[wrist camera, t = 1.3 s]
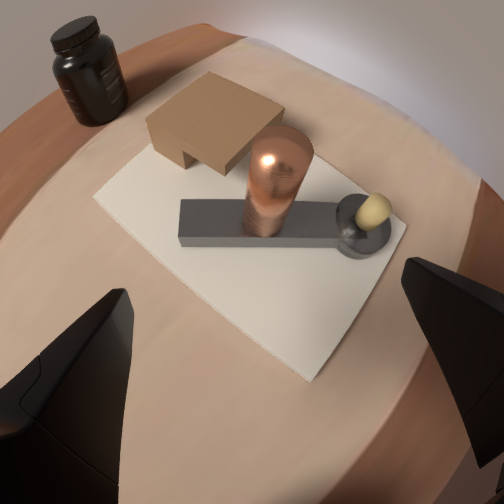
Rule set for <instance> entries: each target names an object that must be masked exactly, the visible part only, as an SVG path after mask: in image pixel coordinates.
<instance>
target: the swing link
mask: <svg viewBox="0 0 504 504" xmlns="http://www.w3.org/2000/svg"><path fill="white" fill-rule="evenodd" d="M313 156H314V149H313V146H312V143H311V142H310V140H309V139H308V138H307V137H306V136H305V135H304V134H303V133H302V132H300V131H299V130H297V129H295V128H292V127H289V126H284V125H273V126H269V127H266V128H264V129H262V130H260V131H259V132H258V133H257V134H256V136H255V137H254V140H253V145H252V151H251V158H250V165H249V172H248V179H247V187H246V194H245V199H181V203H180V214H179V227H178V239H179V242H180V244H181V247H285V248H336V249H337V250H338V251H339V252H340V253H341V254H343V255H344V256H346V257H348V258H351V259H356V260H361V259H366V258H369V257H370V256H372V255H373V254H375V253H376V252H377V251H379V250H380V249H382V248H383V247H384V246H385V245H386V244H387V243H388V241H389V239H390V236H391V222H390V218H389V217H388V218H387V219H386V220H385V221H383V222H382V223H381V224H380V225H379V226H378V227H377V228H376V229H375V230H373V231H370V232H367V231H364V230H362V229H361V228H360V227H359V226H358V225H357V223H356V221H355V213H356V211H357V210H358V209H359V208H360V207H361V206H362V204H363V203H364V202H365V201H366V200H367V199H368V197H369V196H368V195H365V194H359V193H355V194H350V195H347V196H345V197H344V198H343V199H342V200H341V201H340V202H339V203H333V202H314V201H294V200H295V198H296V196H297V193H298V191H299V189H300V187H301V184H302V182H303V180H304V178H305V175H306V173H307V171H308V169H309V166H310V164H311V162H312V159H313Z"/></svg>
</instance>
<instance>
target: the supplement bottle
mask: <svg viewBox="0 0 504 504" xmlns="http://www.w3.org/2000/svg"><path fill="white" fill-rule="evenodd" d="M51 43H52V46H53V48H54V49H53V50H54V52H55V54H56V55H57V56H56V58H55V60H54V62H53V67H52V70H53V73H54V76H55V78H56V80H57V82H58V84H59V86H60V88H61V90H62V92H63V94H64V96H65V98H66V100H67V102H68V104H69V106H70V108H71V110H72V112H73V114H74V116H75V118H76V119H77V121H78V122H79V123H80V124H82V125H84V126H98V125H101V124H104V123H106V122H108V121H110V120H112V119H113V118H115V117H116V116H117V115H119V114H120V113H121V112H122V110H123V109H124V108H125V106H126V104H127V102H128V91H127V88H126V84H125V81H124V78H123V74H122V71H121V68H120V64H119V61H118V57H117V53H116V50H115V47H114V43H113V41H112V39H111V38H110V37H108V36H107V35H104V34H100V28H99V26H98V23H97V19H96V17H94V16H85V17H81V18H78V19H76V20H74V21H71V22H69V23H68V24H66V25H64V26H62V27H61V28H60V29H58V30H57V31H56V32H55V33H54V34H53V35H52V37H51Z"/></svg>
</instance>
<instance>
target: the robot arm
mask: <svg viewBox="0 0 504 504" xmlns="http://www.w3.org/2000/svg"><path fill="white" fill-rule="evenodd" d="M401 284H402V287H403V289H404V291H405V294H406V296H407V298H408V300H409V303H410V305H411V307H412V310H413V312H414V315H415V317H416V319H417V321H418V323H419V325H420V327H421V329H422V331H423V333H424V335H425V337H426V339H427V341H428V343H429V345H430V347H431V349H432V351H433V353H434V355H435V357H436V359H437V361H438V363H439V366H440V368H441V370H442V372H443V374H444V376H445V379H446V381H447V383H448V385H449V388H450V390H451V392H452V395H453V397H454V400H455V402H456V404H457V407H458V409H459V412H460V414H461V417H462V420H463V423H464V425H465V428H466V431H467V434H468V436H469V439H470V442H471V445H472V448H473V451H474V454H475V457H476V460H477V464H478V466H479V468H480V469H481V468H482V467H484V466H485V465H487V464H488V463H489V462H491V461H492V460H493V459H495V458H496V457H497V456H499V455H500V454H501V453H503V452H504V294H502V293H499V292H498V291H495V290H493V289H491V288H489V287H487V286H485V285H482V284H480V283H478V282H476V281H473V280H471V279H469V278H467V277H464V276H462V275H460V274H458V273H455V272H453V271H451V270H448V269H446V268H444V267H441V266H439V265H436V264H434V263H432V262H429V261H427V260H424V259H422V258H419V257H412V258H408V259H407V260H406V262H405V266H404V270H403V274H402V277H401ZM133 325H134V310H133V307H132V304H131V301H130V298H129V295H128V293H127V291H126V289H124V288H118V289H112V290H111V291H110V292H108V293H107V294H106V295H105V296H104V297H103V298H101V299H100V300H99V301H98V302H97V303H95V304H94V305H93V306H92V307H91V308H90V309H89V310H87V311H86V312H85V313H84V314H83V315H82V316H81V317H79V318H78V319H77V320H76V321H75V322H74V323H73V324H71V325H70V326H69V327H68V328H67V329H66V330H65V331H64V332H63V333H61V334H60V335H59V336H58V337H57V338H56V339H55V340H54V341H53V342H52V343H51V344H49V345H48V346H47V347H46V348H45V349H44V350H43V351H42V352H41V353H40V355H38V356H37V357H35V358H34V359H33V360H32V361H31V362H30V363H29V364H28V365H27V366H26V367H25V368H24V369H23V370H22V371H21V372H20V373H18V374H17V375H16V376H15V377H14V378H13V379H11V380H10V381H9V382H8V383H7V384H6V385H4V386H3V387H2V388H1V389H0V504H118V493H119V486H118V484H119V465H120V450H121V438H122V427H123V418H124V409H125V401H126V393H127V386H128V379H129V372H130V366H131V358H132V341H133ZM485 504H504V463H503V464H502V469H501V473H500V477H499V481H498V485H497V488H496V495H495V496H494V497H493V498H491V499H490V500H489V501H488V502H486V503H485Z"/></svg>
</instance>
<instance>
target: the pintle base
mask: <svg viewBox="0 0 504 504" xmlns="http://www.w3.org/2000/svg"><path fill="white" fill-rule="evenodd" d="M284 109H285V107H283V106H281V105H279V104H277V103H275V102H273V101H272V100H270V99H268V98H266V97H264V96H262V95H260V94H258V93H256V92H254V91H252V90H249V89H247V88H245V87H243V86H241V85H239V84H237V83H234V82H232V81H230V80H228V79H225V78H223V77H221V76H219V75H216V74H214V73H212V72H208V73H206V74H205V75H203V76H202V77H200V78H199V79H197V80H196V81H194V82H193V83H191V84H190V85H189V86H187V87H186V88H184V89H183V90H182V91H180V92H179V93H178V94H176V95H175V96H174V97H172V98H171V99H170V100H168V101H167V102H166V103H164V104H163V105H162V106H160V107H159V108H158V109H157V110H155V111H154V112H153V113H152V114H150V115H149V116H148V117H147V118H146V122H147V126H148V130H149V133H150V137H151V140H152V143H151V144H149V145H148V146H147V147H146V148H145V149H143V150H142V151H141V152H140V153H139V154H138V155H136V156H135V157H134V158H133V159H132V160H131V161H130V162H129V163H127V164H126V165H125V166H124V167H123V168H122V169H121V170H120V171H119V172H118V173H117V174H115V175H114V176H113V177H112V178H111V179H110V180H109V181H108V182H107V183H106V184H105V185H104V186H103V187H102V188H101V189H100V190H99V191H98V192H97V193H96V194H95V195H94V196H93V198H94V199H95V201H96V202H97V203H98V204H99V205H100V206H101V207H102V208H103V209H104V210H105V211H106V212H107V213H108V214H109V215H110V216H111V217H112V218H113V219H114V220H115V221H116V222H117V223H118V224H119V225H120V226H121V227H122V228H124V229H125V230H126V231H127V232H128V233H129V234H130V235H131V236H132V237H133V238H134V239H135V240H136V241H137V242H138V243H139V244H140V245H142V246H143V247H144V248H145V249H146V250H147V251H148V252H149V253H150V254H151V255H152V256H154V257H155V258H156V259H157V260H158V261H159V262H160V263H161V264H162V265H163V266H165V267H166V268H167V269H168V270H169V271H170V272H171V273H172V274H174V275H175V276H176V277H177V278H178V279H179V280H180V281H182V282H183V283H184V284H185V285H186V286H187V287H189V288H190V289H191V290H192V291H193V292H194V293H196V294H197V295H198V296H199V297H200V298H201V299H203V300H204V301H205V302H206V303H207V304H209V305H210V306H211V307H212V308H213V309H215V310H216V311H217V312H218V313H219V314H221V315H222V316H223V317H224V318H226V319H227V320H228V321H229V322H230V323H232V324H233V325H234V326H235V327H237V328H238V329H239V330H240V331H242V332H243V333H244V334H245V335H247V336H248V337H249V338H251V339H252V340H253V341H254V342H256V343H257V344H258V345H260V346H261V347H262V348H263V349H265V350H266V351H267V352H269V353H270V354H271V355H273V356H274V357H275V358H277V359H278V360H279V361H281V362H282V363H283V364H285V365H286V366H287V367H289V368H290V369H291V370H293V371H294V372H295V373H297V374H298V375H300V376H301V377H302V378H304V379H305V380H306V381H309V382H311V381H312V380H313V378H314V377H315V376H316V374H317V373H318V372H319V370H320V369H321V367H322V366H323V365H324V363H325V362H326V360H327V359H328V358H329V356H330V355H331V353H332V352H333V350H334V349H335V348H336V346H337V345H338V343H339V342H340V340H341V339H342V337H343V336H344V334H345V333H346V331H347V330H348V328H349V327H350V325H351V324H352V322H353V320H354V319H355V317H356V316H357V314H358V313H359V311H360V309H361V308H362V306H363V304H364V303H365V301H366V300H367V298H368V296H369V295H370V293H371V291H372V290H373V288H374V286H375V284H376V283H377V281H378V279H379V277H380V276H381V274H382V272H383V270H384V269H385V267H386V265H387V263H388V261H389V259H390V258H391V256H392V254H393V252H394V250H395V248H396V246H397V244H398V242H399V241H400V239H401V237H402V235H403V233H404V231H405V229H406V227H407V225H405V224H404V223H403V222H402V221H401V220H400V219H398V218H397V217H396V216H395V215H394V214H393V213H391V212H392V207H391V204H390V202H389V200H388V199H387V198H386V197H385V196H383V195H382V194H379V193H374V194H371V195H369V194H368V193H367V192H365V191H364V190H363V189H361V188H360V187H359V186H358V185H356V184H355V183H354V182H352V181H351V180H350V179H348V178H347V177H346V176H344V175H343V174H342V173H340V172H339V171H337V170H336V169H335V168H333V167H332V166H331V165H329V164H328V163H326V162H325V161H323V160H322V159H321V158H319V157H318V156H316V155H315V154H314V156H313V159H312V162H311V164H310V166H309V169H308V171H307V173H306V175H305V178H304V180H303V182H302V184H301V187H300V189H299V191H298V193H297V196H296V198H295V200H294V201H314V202H333V203H339V202H340V201H341V200H342V199H343V198H344V197H345V196H347V195H350V194H355V193H359V194H365V195H368V196H369V197H368V199H367V200H366V201H365V202H364V203H363V204H362V206H361V207H360V208H359V209H358V210H357V211H356V213H355V221H356V223H357V225H358V226H359V227H360V228H361V229H362V230H364V231H367V232H370V231H373V230H375V229H376V228H377V227H378V226H379V225H380V224H381V223H382V222H383V221H385V220H386V219H387V218H388V217H389V218H390V222H391V236H390V239H389V241H388V243H387V244H386V245H385V246H384V247H383V248H382V249H380V250H379V251H377V252H376V253H375V254H373V255H372V256H370V257H369V258H366V259H361V260H356V259H351V258H348V257H346V256H344V255H343V254H341V253H340V252H339V251H338V250H337V249H336V248H285V247H181V244H180V242H179V239H178V227H179V214H180V203H181V199H245V194H246V187H247V179H248V172H249V165H250V158H251V151H252V145H253V140H254V137H255V136H256V134H257V133H258V132H259V131H260V130H262V129H264V128H266V127H269V126H273V125H277V124H278V123H279V122H280V121H281V120H282V117H283V113H284Z"/></svg>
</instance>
